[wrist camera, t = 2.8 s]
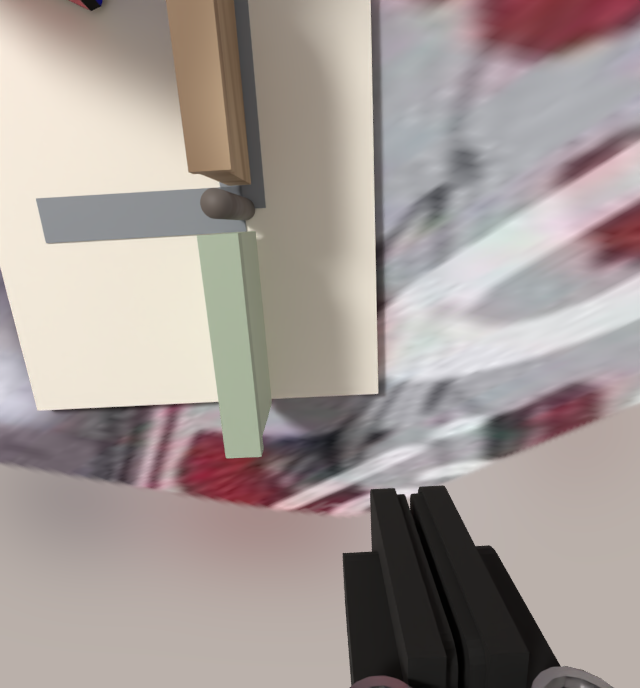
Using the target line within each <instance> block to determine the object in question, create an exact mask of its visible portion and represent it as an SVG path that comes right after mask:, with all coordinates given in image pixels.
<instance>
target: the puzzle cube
mask: <svg viewBox="0 0 640 688" xmlns="http://www.w3.org/2000/svg"><path fill="white" fill-rule="evenodd" d="M69 1H71V2H73V3H75V4H77V5H79V6H81V7H83V8H86V9H88V10H90V11H93V10H95V9H97V8H99V7H101V5H102V1H103V0H69Z"/></svg>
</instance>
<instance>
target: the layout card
mask: <svg viewBox="0 0 640 688" xmlns="http://www.w3.org/2000/svg"><path fill="white" fill-rule="evenodd" d="M234 7H235V18H236V28H237V39H238V49H239V60H240V71H241V81H242V92H243V102H244V113H245V124H246V134H247V145H248V156H249V166H250V177H251V185H234V186H228V185H226V184H223V183H221V182H218V181H216V180H213V179H211V178H208V177H206V176H204V175H201V174H192V173H189V172H188V165H187V158H186V150H185V143H184V135H183V127H182V120H181V112H180V105H179V97H178V89H177V82H176V74H175V67H174V59H173V51H172V44H171V36H170V29H169V21H168V13H167V6H166V0H103V1H102V5H101V7H99V8H97V9H95V10H93V11H90V10H88V9H86V8H83V7H81V6H79V5H77V4H75V3H73V2H71V1H69V0H0V267H1V271H2V275H3V279H4V283H5V287H6V291H7V294H8V298H9V302H10V306H11V310H12V314H13V318H14V321H15V325H16V329H17V333H18V337H19V341H20V345H21V348H22V352H23V356H24V360H25V364H26V368H27V371H28V375H29V379H30V383H31V387H32V391H33V395H34V398H35V402H36V406H37V410H38V411H40V410H60V409H80V408H101V407H121V406H141V405H161V404H182V403H202V402H219V401H218V394H217V386H216V378H215V371H214V363H213V356H212V348H211V340H210V333H209V325H208V318H207V310H206V302H205V295H204V287H203V280H202V272H201V264H200V257H199V249H198V241H197V235H210V234H221V233H232V232H249V231H256V240H257V251H258V262H259V272H260V283H261V293H262V304H263V315H264V325H265V336H266V346H267V357H268V368H269V378H270V389H271V399H283V398H304V397H324V396H344V395H364V394H378V353H377V302H376V251H375V200H374V148H373V97H372V46H371V0H234ZM209 188H219V189H222V190H225V191H228V192H230V193H233V194H236V195H239V196H242V197H245V198H248V199H250V200H251V201H252V202H253V204H254V206H255V214H254V216H253V217H252V218H251V219H249V220H226V219H212V218H210V217H208V216H207V215H205V214H204V212H203V211H202V209H201V205H200V199H201V196H202V194H203V193H204V192H205V191H206V190H207V189H209Z"/></svg>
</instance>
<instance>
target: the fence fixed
mask: <svg viewBox="0 0 640 688" xmlns="http://www.w3.org/2000/svg"><path fill="white" fill-rule="evenodd" d="M166 6H167V13H168V21H169V29H170V36H171V44H172V51H173V59H174V67H175V74H176V82H177V89H178V97H179V105H180V112H181V120H182V127H183V135H184V143H185V150H186V158H187V165H188V172H189V173H192V174H201V175H204V176H206V177H208V178H211V179H213V180H216V181H218V182H221V183H223V184H226V185H228V186H234V185H251V177H250V166H249V156H248V145H247V134H246V124H245V113H244V102H243V92H242V81H241V71H240V60H239V49H238V39H237V28H236V18H235V7H234V0H166ZM200 205H201V209H202V211H203V212H204V214H205V215H207V216H208V217H210V218H212V219H226V220H249V219H251V218H252V217H253V216H254V214H255V206H254V204H253V202H252V201H251V200H250V199H248V198H245V197H242V196H239V195H236V194H233V193H230V192H228V191H225V190H222V189H219V188H209V189H207V190H206V191H205V192H204V193H203V194H202V196H201V199H200Z"/></svg>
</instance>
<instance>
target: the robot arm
mask: <svg viewBox="0 0 640 688" xmlns="http://www.w3.org/2000/svg"><path fill="white" fill-rule="evenodd" d="M370 503H371V535H372V552H359V553H343V572H344V590H345V606H346V621H347V635H348V647H349V659H350V673H351V687H350V688H613V687H612V686H610V685H609V684H608V683H606V682H605V681H604V680H602V679H601V678H599V677H597V676H595V675H592V674H590V673H588V672H586V671H584V670H580V669H576V668H572V667H568V666H563V667H561V666H560V664H559V663H558V661H557V659H556V657H555V656H554V654H553V652H552V650H551V649H550V647H549V645H548V643H547V641H546V640H545V638H544V636H543V635H542V632H541V631H540V629H539V627H538V625H537V624H536V622H535V620H534V618H533V617H532V615H531V613H530V611H529V610H528V608H527V606H526V604H525V602H524V601H523V599H522V597H521V595H520V593H519V592H518V590H517V588H516V587H515V585H514V583H513V581H512V579H511V578H510V576H509V574H508V572H507V571H506V569H505V567H504V565H503V563H502V562H501V560H500V558H499V556H498V554H497V553H496V551H495V550H494V549H493V548H492V547H491V546H475V545H474V543H473V541H472V539H471V537H470V535H469V533H468V531H467V529H466V527H465V525H464V523H463V521H462V519H461V517H460V515H459V513H458V511H457V510H456V507H455V505H454V503H453V501H452V499H451V497H450V495H449V493H448V491H447V489H446V488H445V486H425V487H419V490H418V494H411V496H410V509H409V506H408V503H407V500H406V497H405V495H404V494H400V495H397V494H396V491H395V489H394V488H388V489H371V491H370Z"/></svg>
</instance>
